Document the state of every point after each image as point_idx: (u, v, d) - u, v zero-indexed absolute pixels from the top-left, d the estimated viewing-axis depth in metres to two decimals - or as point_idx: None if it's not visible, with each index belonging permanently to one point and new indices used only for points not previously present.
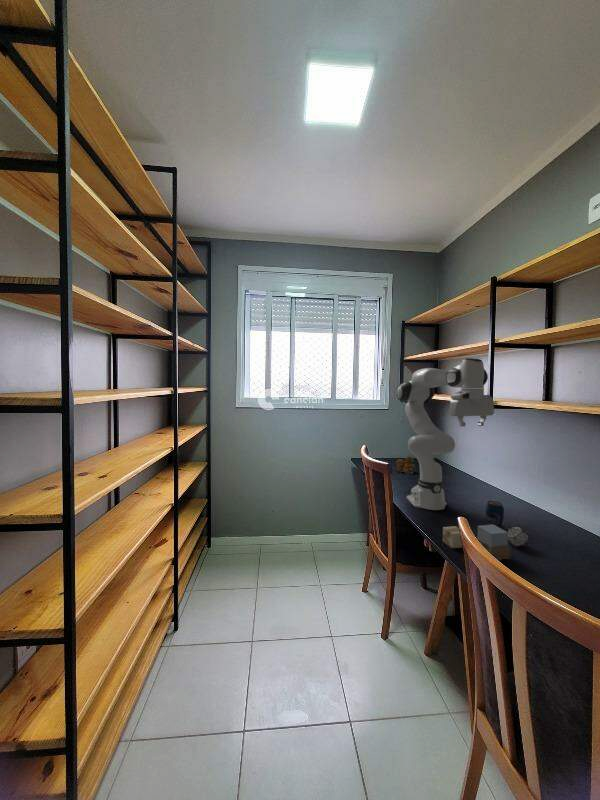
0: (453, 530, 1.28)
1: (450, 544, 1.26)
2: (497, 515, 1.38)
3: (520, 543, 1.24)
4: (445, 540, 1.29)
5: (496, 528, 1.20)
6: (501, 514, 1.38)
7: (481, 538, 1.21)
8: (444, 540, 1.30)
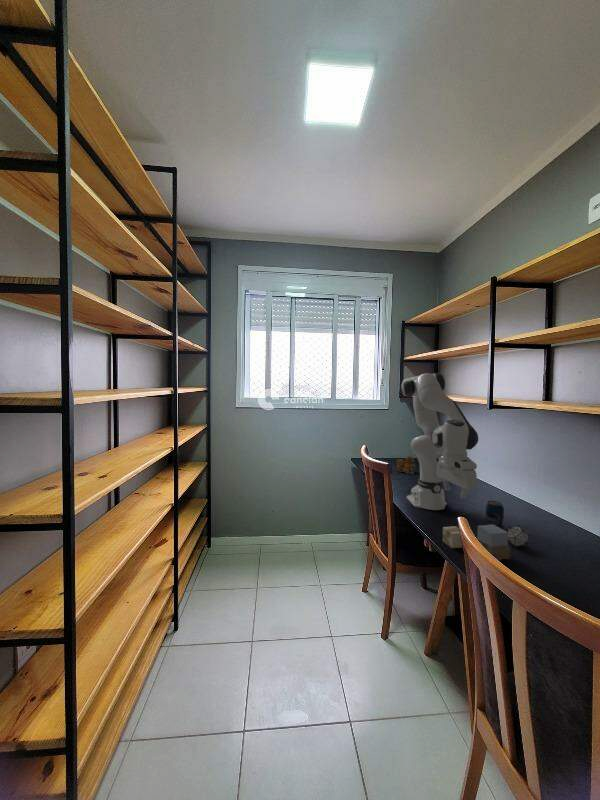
0: (453, 530, 1.28)
1: (450, 544, 1.26)
2: (497, 515, 1.38)
3: (520, 543, 1.24)
4: (445, 540, 1.29)
5: (496, 528, 1.20)
6: (501, 514, 1.38)
7: (481, 538, 1.21)
8: (444, 540, 1.30)
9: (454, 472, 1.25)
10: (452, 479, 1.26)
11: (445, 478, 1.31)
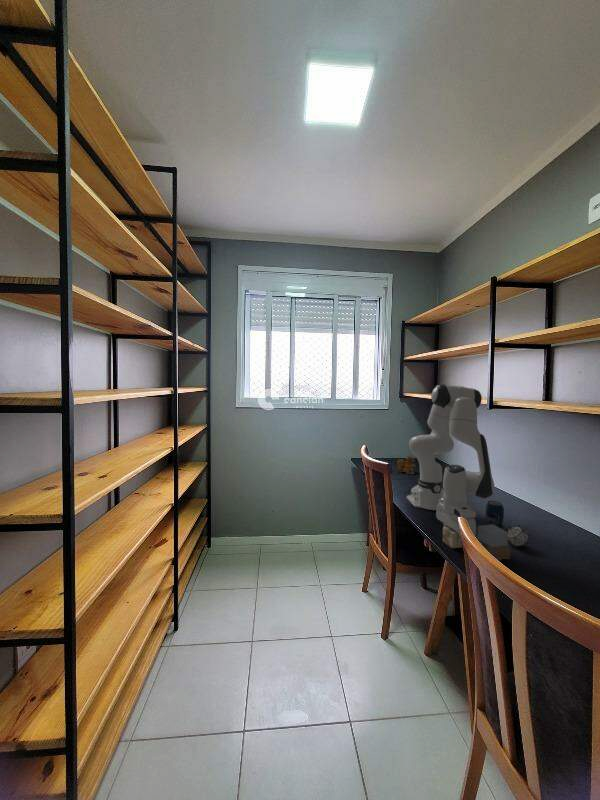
0: (453, 530, 1.28)
1: (450, 544, 1.26)
2: (497, 515, 1.38)
3: (520, 543, 1.24)
4: (445, 540, 1.29)
5: (496, 528, 1.20)
6: (501, 514, 1.38)
7: (481, 538, 1.21)
8: (444, 540, 1.30)
9: (453, 518, 1.26)
10: (451, 525, 1.27)
11: (444, 522, 1.31)
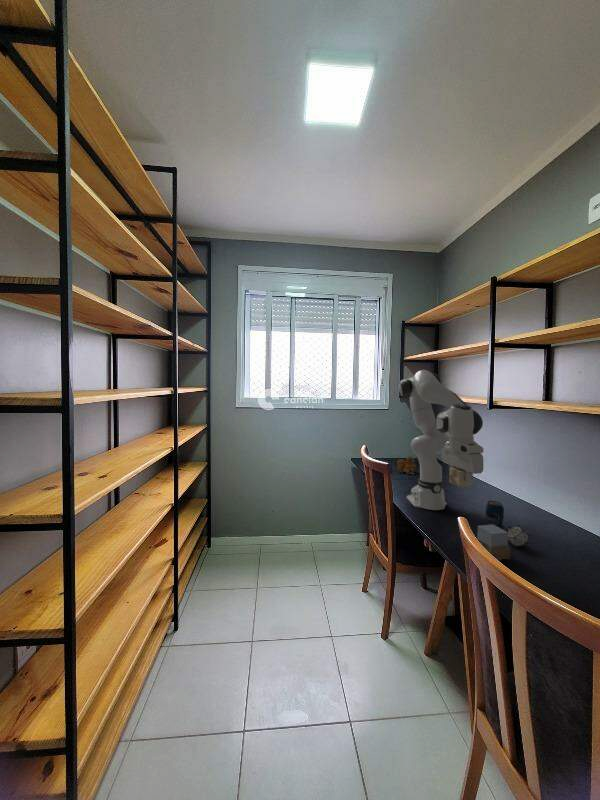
0: (460, 469, 1.25)
1: (457, 483, 1.23)
2: (497, 515, 1.38)
3: (520, 543, 1.24)
4: (452, 480, 1.27)
5: (496, 528, 1.20)
6: (501, 514, 1.38)
7: (481, 538, 1.21)
8: (451, 481, 1.27)
9: (460, 456, 1.24)
10: (458, 464, 1.25)
11: (451, 463, 1.29)
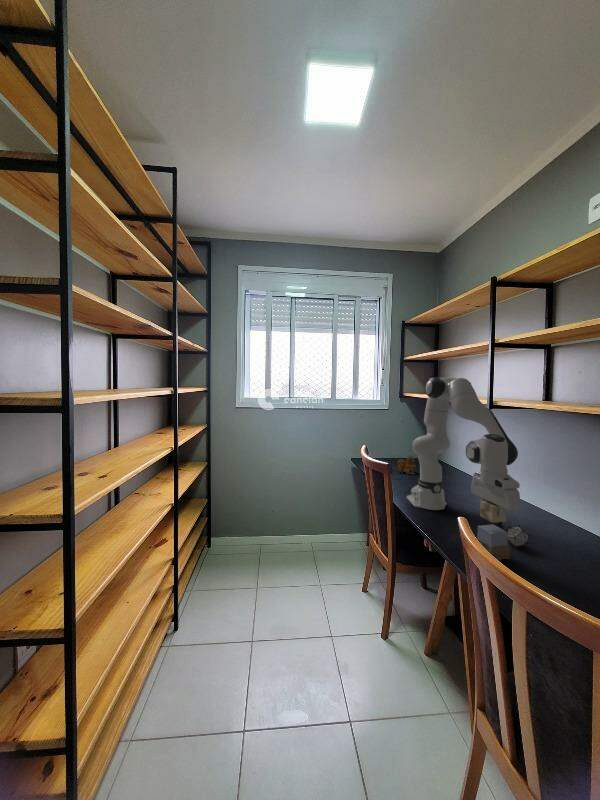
0: (492, 503, 1.19)
1: (490, 518, 1.17)
2: None
3: (520, 543, 1.24)
4: (483, 514, 1.20)
5: (496, 528, 1.20)
6: None
7: (481, 538, 1.21)
8: (482, 515, 1.21)
9: (493, 490, 1.17)
10: (490, 498, 1.18)
11: (482, 496, 1.23)
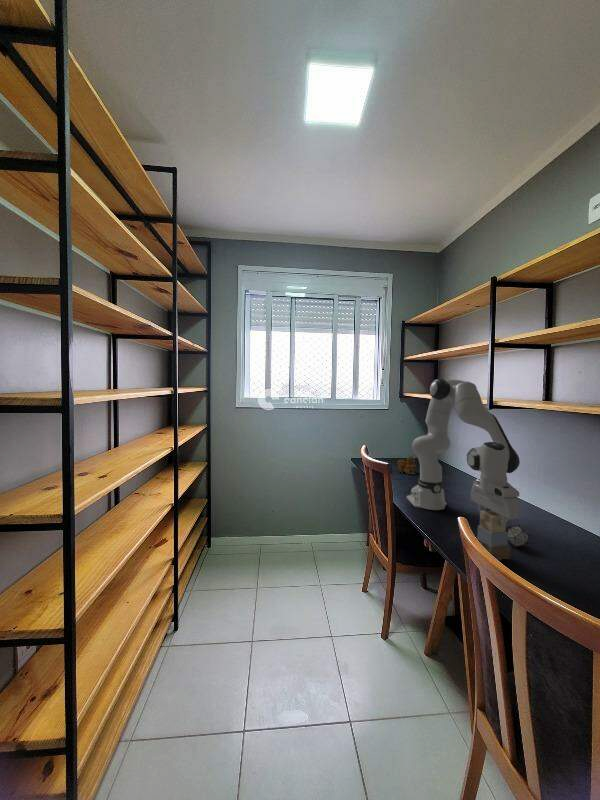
0: (492, 513, 1.19)
1: (489, 528, 1.17)
2: None
3: (520, 543, 1.24)
4: (483, 525, 1.21)
5: None
6: None
7: (481, 538, 1.21)
8: (481, 525, 1.21)
9: (493, 498, 1.17)
10: (490, 506, 1.19)
11: (481, 503, 1.23)
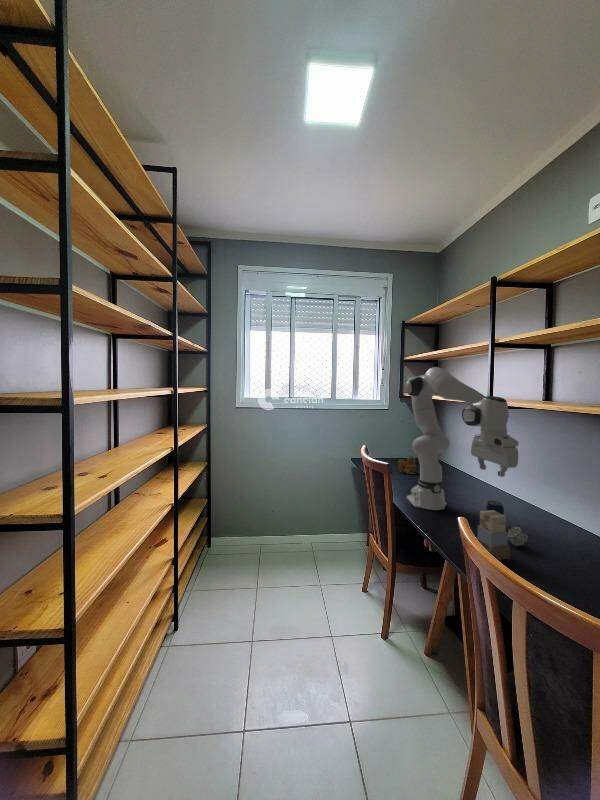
0: (492, 513, 1.19)
1: (489, 528, 1.17)
2: None
3: (520, 543, 1.24)
4: (483, 525, 1.21)
5: None
6: None
7: (481, 538, 1.21)
8: (481, 525, 1.21)
9: (492, 450, 1.20)
10: (489, 457, 1.22)
11: (481, 456, 1.26)
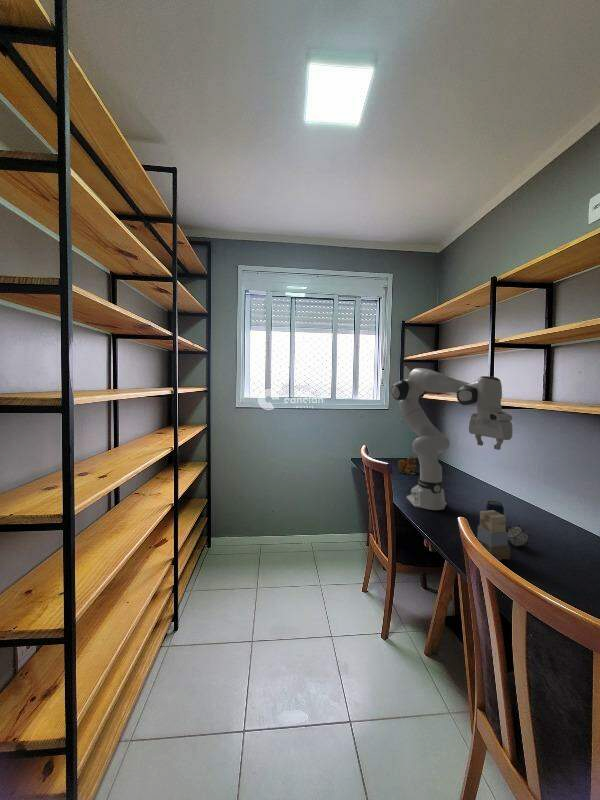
0: (492, 513, 1.19)
1: (489, 528, 1.17)
2: None
3: (520, 543, 1.24)
4: (483, 525, 1.21)
5: None
6: None
7: (481, 538, 1.21)
8: (481, 525, 1.21)
9: (489, 425, 1.30)
10: (486, 432, 1.31)
11: (478, 433, 1.35)
